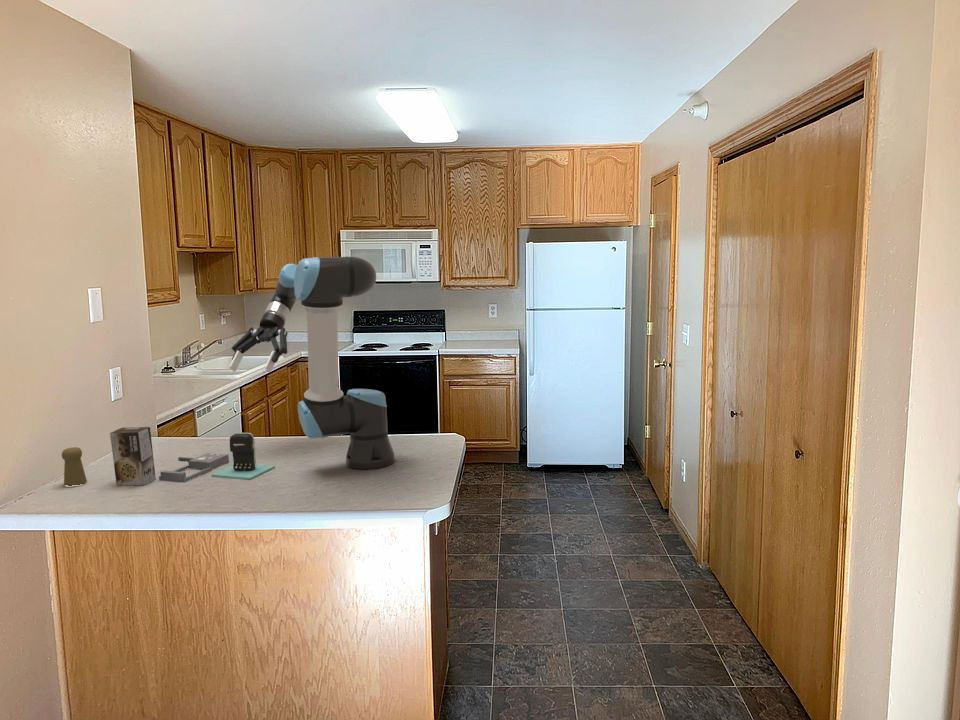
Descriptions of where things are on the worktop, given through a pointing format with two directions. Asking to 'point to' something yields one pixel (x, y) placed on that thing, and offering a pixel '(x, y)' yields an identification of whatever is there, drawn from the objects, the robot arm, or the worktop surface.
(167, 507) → the worktop surface
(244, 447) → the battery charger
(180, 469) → the gray frame with rod
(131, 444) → the coffee box
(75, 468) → the cork
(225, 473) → the mat
